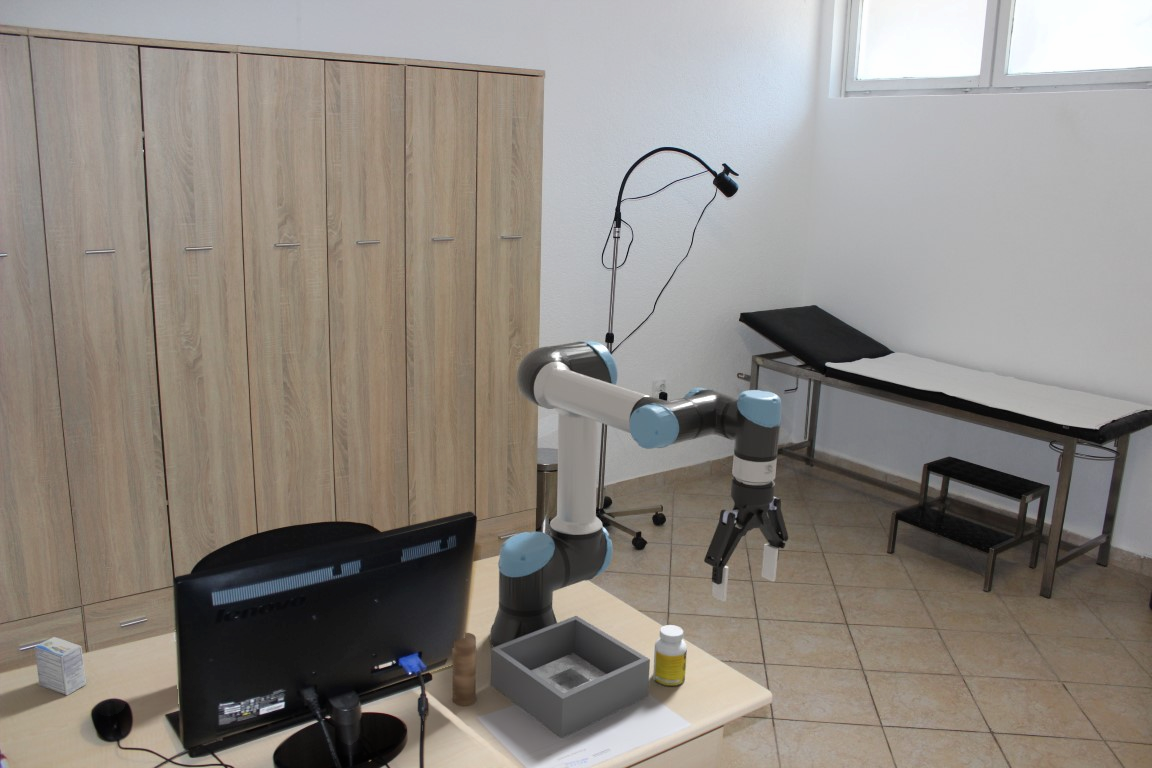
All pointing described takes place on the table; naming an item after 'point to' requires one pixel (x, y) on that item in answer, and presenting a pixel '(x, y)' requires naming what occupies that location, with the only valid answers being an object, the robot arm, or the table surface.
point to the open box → (577, 705)
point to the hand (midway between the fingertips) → (744, 588)
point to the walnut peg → (464, 670)
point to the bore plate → (568, 671)
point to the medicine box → (60, 665)
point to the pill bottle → (670, 657)
